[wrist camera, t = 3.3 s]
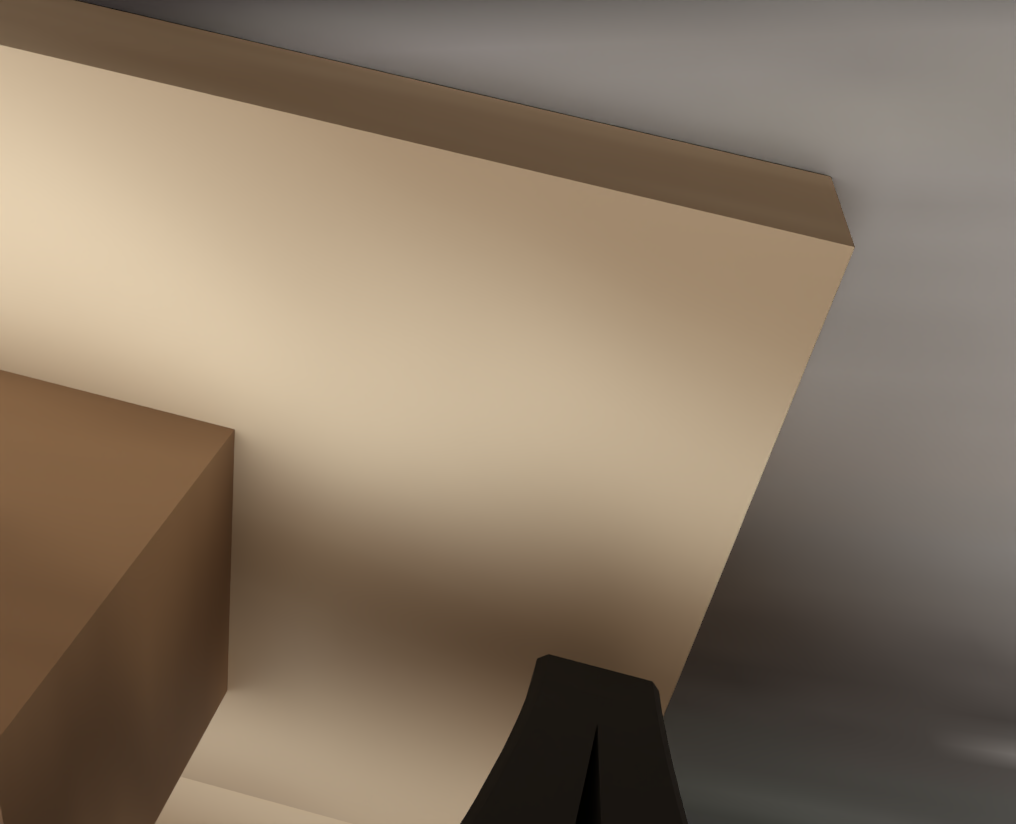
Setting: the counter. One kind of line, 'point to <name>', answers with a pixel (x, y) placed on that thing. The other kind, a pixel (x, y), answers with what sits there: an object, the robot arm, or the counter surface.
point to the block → (107, 601)
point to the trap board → (406, 378)
